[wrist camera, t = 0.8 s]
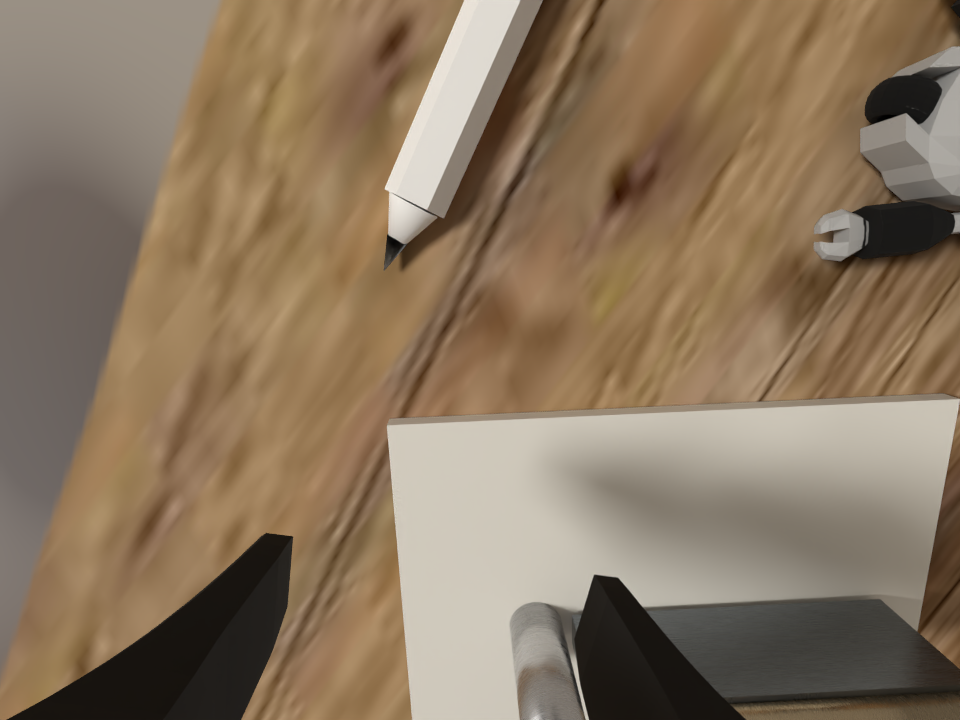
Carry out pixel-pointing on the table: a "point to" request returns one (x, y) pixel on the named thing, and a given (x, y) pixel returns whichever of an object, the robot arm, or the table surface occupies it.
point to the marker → (454, 114)
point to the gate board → (652, 520)
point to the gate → (815, 661)
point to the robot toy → (907, 164)
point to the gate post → (543, 665)
